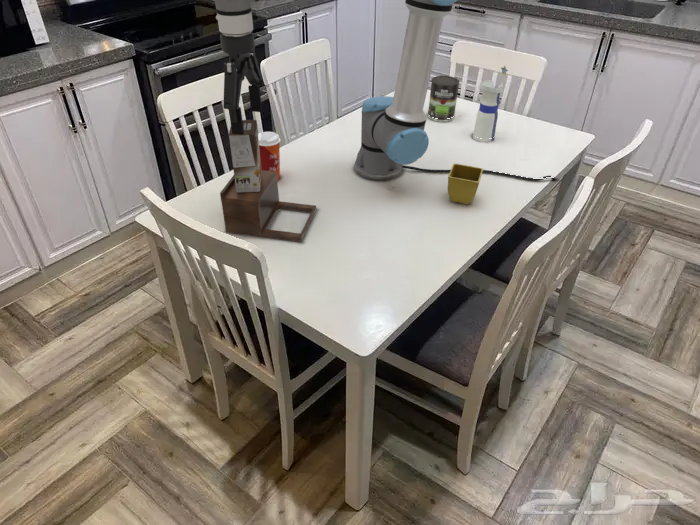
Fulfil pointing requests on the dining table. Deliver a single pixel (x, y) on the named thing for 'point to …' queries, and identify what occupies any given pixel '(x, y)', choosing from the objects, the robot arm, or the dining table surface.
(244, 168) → the coffee box
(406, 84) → the robot arm
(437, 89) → the coffee can
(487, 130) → the water bottle
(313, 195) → the dining table surface
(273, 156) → the paper cup
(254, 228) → the rack
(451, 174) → the flower pot
